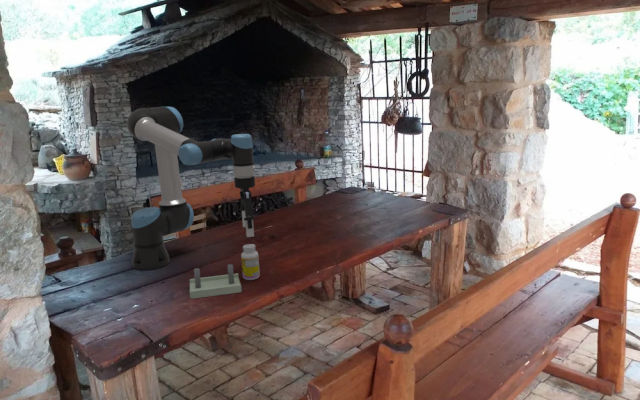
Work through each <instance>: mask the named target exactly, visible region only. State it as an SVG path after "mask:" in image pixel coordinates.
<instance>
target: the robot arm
mask: <svg viewBox="0 0 640 400" xmlns="http://www.w3.org/2000/svg"><path fill="white" fill-rule="evenodd" d="M126 121H127V122H126V127H127V130H128V132H129V134H130V135H132V136H133V137H134V138H135V139H138V140H140V141H142V142H146V141H147V142H149V143H152V144H153V145H154V149H155V156H156V164H157V171H158V179H159V181H158V182H159V187H160V195H161V200H160V201H159V202H158V206H150V207H144V208H140V209H138V210H136V211H134V212H132V215H131V217H130V218H131V221H130V222H131V224H130V226H131V229H132V237H133V244H134V250H133V255H132V259H131V265H132V268H133V269H135V270H139V271H148V270H156V269H160V268H163V267H165V266H167V265H168V264H169V263H170V261H171V259H170V254H169V252H168V251H167V249H166V246H165V244H164V237H165V236H168V235H169V236H170V235H171V234H175V233H178V232H179V233H180V232H183V231H184V230H187V229H189V228H190V227H191V226H192V225H193V223H194V219H195V218H194V217H195V214H194V209H193V208H192V205H191V204H189V203H187V199H186V198H184V197H183V192H182V191H183V190H182V184H181V177H180V167H179V166H180V165H179V160H180V161H181V163H182V164H183V165H185V166H195V165H200V164H204V163H210V162H214V161H215V162H216V161H220V160H221V161H222V160H232V170H233V171H232V172H233V176H234V178H233V180H234V182H233V183H234V188H236V189H240V191H239V196H240V197H239V198H240V210H241V219H242V220H241V221H242V228H245V234H246V238H251V237H255V229H254V227H255V225H254V219H255V217H254V213H253V212H254V211H253V204H252V202H253V201H252V200H253V199H252V195H253V194H252V191H251V190H250V189H251V188H253V187H255V186H256V178H255V176H254V175H255V170H256V169H257V168H256V167H257V166H254V165H255V163H254V145H253V139H252V135H251V134H249V133H238V134H237V133H236V134H232V135H231V138H222V137H219V138H212V139H211V140H206V141H205V140H204V141H197V140H194V139H192V138H189V137H187V136H185V135H183V134H180V133H181V132H182V131H183V128H184V119H183V117H182V114H181V113H180V112H179V111H178V109H177V108H175V107H173V106H155V107H141V108H137V109H135V110H133V111H132V112H131V113H130V114H129V116H128V117H127V120H126ZM178 158H179V159H178Z"/></svg>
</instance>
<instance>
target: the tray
mask: <svg viewBox="0 0 640 400" xmlns="http://www.w3.org/2000/svg"><path fill="white" fill-rule="evenodd" d="M193 274H194V276H193V278H190V279H189V299H190V300H192V299H199V298H200V299H201V298H206V297H207V298H208V297H215V296H223V295H230V294H238V293H243V292H242V284H241V281H240V278H239V273H234V264H231V263H230V264H227V274H222V275H214V276H204V277H201V272H200V268H199V267H197V268H196V267H195V268H194V269H193Z"/></svg>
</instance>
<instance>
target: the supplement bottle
mask: <svg viewBox="0 0 640 400" xmlns="http://www.w3.org/2000/svg"><path fill="white" fill-rule="evenodd" d="M242 250H243V252H241V254H240V258H241V259H240V260H241V274H242V275H241V276H242V278H243V280H246V281H253V280H254V281H255V280H257V279H258V278H259V277H260V275H261V274H260V272H261V270H260V260H259V259H260V258H259V257H260V256H259V253H258V251H257V250H256V244H253V243H251V244H250V243H248V244H244V245H243V246H242Z"/></svg>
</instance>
